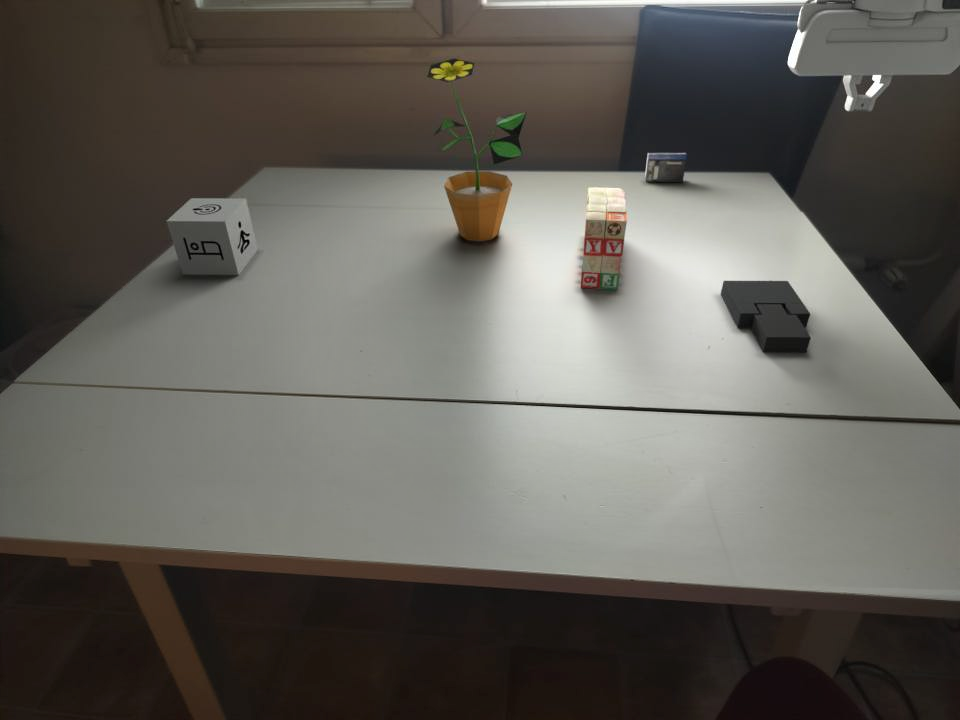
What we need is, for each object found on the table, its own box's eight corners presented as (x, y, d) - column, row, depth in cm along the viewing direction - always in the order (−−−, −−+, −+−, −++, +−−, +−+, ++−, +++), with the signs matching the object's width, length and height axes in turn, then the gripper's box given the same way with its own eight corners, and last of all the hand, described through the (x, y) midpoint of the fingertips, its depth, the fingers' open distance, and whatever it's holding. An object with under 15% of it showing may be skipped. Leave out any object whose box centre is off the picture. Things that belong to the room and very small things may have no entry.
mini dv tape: (645, 181, 148) (648, 155, 145) (644, 179, 150) (647, 152, 146) (682, 181, 148) (687, 155, 144) (681, 179, 149) (685, 152, 146)
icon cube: (183, 274, 116) (166, 221, 111) (205, 249, 125) (191, 198, 119) (238, 275, 116) (224, 221, 110) (257, 249, 124) (245, 198, 118)
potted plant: (412, 233, 128) (397, 67, 111) (484, 207, 138) (482, 50, 121) (472, 264, 117) (466, 85, 100) (546, 233, 127) (553, 65, 110)
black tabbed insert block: (785, 318, 101) (789, 304, 99) (806, 352, 93) (811, 337, 92) (744, 318, 101) (748, 304, 100) (762, 351, 94) (766, 337, 92)
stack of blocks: (584, 233, 127) (589, 170, 120) (617, 235, 126) (624, 171, 119) (580, 288, 110) (585, 218, 102) (618, 290, 109) (627, 220, 102)
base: (783, 294, 107) (787, 280, 105) (806, 328, 98) (810, 313, 97) (720, 294, 107) (723, 280, 106) (737, 327, 99) (740, 313, 98)
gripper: (814, -4, 78) (785, 117, 86) (995, -7, 77) (948, 116, 85) (795, -11, 83) (770, 104, 91) (965, -13, 82) (924, 103, 90)
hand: (857, 110), depth 88 cm, fingers closed
